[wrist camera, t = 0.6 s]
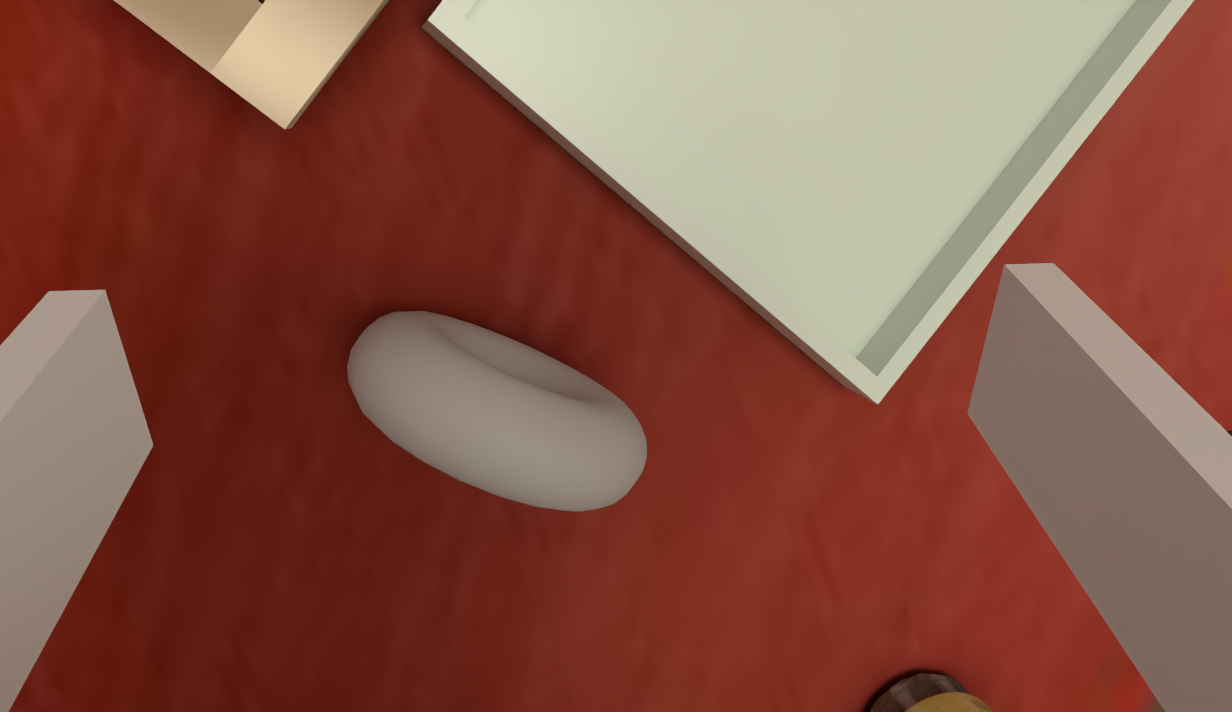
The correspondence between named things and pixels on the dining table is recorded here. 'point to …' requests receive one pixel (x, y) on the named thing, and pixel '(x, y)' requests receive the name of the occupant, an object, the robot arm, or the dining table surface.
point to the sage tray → (820, 137)
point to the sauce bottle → (928, 696)
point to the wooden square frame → (263, 44)
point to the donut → (496, 412)
